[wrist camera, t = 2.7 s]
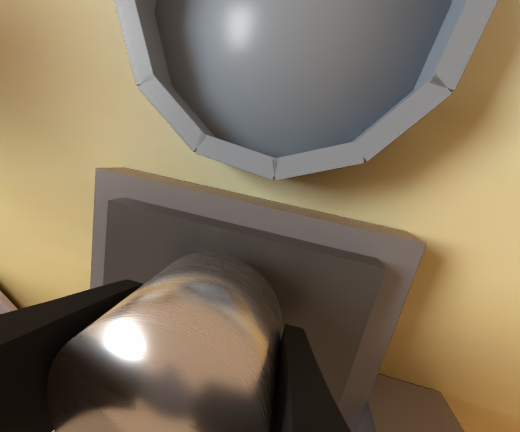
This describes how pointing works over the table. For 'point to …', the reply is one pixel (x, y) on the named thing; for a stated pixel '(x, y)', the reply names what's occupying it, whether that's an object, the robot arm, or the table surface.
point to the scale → (282, 279)
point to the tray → (297, 73)
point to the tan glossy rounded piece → (175, 355)
